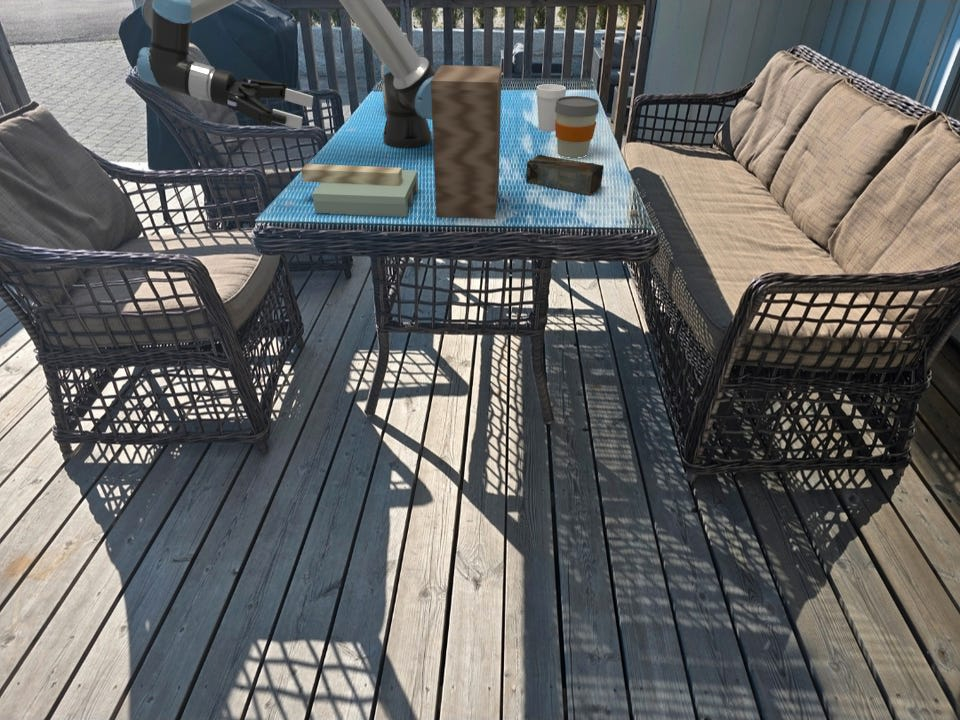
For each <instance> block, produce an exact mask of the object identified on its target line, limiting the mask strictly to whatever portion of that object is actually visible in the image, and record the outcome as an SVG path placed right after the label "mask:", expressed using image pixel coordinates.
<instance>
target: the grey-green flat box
mask: <svg viewBox="0 0 960 720" xmlns="http://www.w3.org/2000/svg"><path fill="white" fill-rule="evenodd" d="M418 173H419V172H418V170H416V169H415V170H414V169H413V170H410V169H402V179H403V180H402V182H401V183H400V185H399V186H395V185H372V184H349V183H326V182H320V183H319V185H318V186H317V187H316V188H315V190H313V192H312V194H311V195H312V201H313V204H314V210H315V214H316V213H330V214H329V215H342V214H346V215H350V216H370V217H371V216H372V217H373V216H375V217H377V216H378V217H395V218H396V217H398V218H401V217H402V218H407V216H408V214H409V206H411V205H413V202H414V194H418V191H419V180H418V177H419V175H418ZM346 215H345V216H346Z"/></svg>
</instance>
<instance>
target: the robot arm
mask: <svg viewBox="0 0 960 720" xmlns="http://www.w3.org/2000/svg"><path fill="white" fill-rule="evenodd" d="M238 1H240V0H144V1H143V3H142V5H141V17H142V18H143V20H144V23H145V24H146V26H147V27H148V28H149V29H150V30H151V39H150V47H147V46H146V47H145V46H143V47H142V48H141V49H139V52H138V58H137V60H136V69H137V74H138V76H139V78H140V80H142V82H144V83H146V84H149V85H152V86H155V87H157V88H159V89H162V90H163V89H164V90H166V91H171V92H175V93H179V94H181V95H186V96H189V97H192V98H197V99H198V100H199V101H203V100H204V101H207V102H213V103H214V104H217V105H220V106H224V107H227V108H228V109H232V110H235V111H237V112H239V113H241V114H243V115H244V116H246V117H248V118H250V119H252V120H254V121H256V122H257V123H259V124H262V125H267V126H271V124H272V122H273V123H276V124H279V125H282V126H286V127H290V128H293V129H297V130H300V131H301V130H302V127H303V116H300V115H298V114H297V115H296V114H293V113H290V112H286V111H283V110H279V109H275V108H273V109H270V108H268V107H267V106H266V105H265V104H264V103H262V102H261V101H260V100H261V99H284V101H285V102H290V103H292V104H296V105H301V106H303V107H306V108H309V109H312V108H313V104H314V95H311V94H306V93H304V92H301V91H296V90H293V89H289V88H288V86H287V85H288V84H287V83H285V82H279V81H278V82H277V81H269V80H261V79H254V78H249V77H245V76H243V77H242V81H237V80H236V77H235V74H234V73H232V72H231V71H228V70H225V69H220V68H217V69H216V68H215V67H214V66H211V65H208V64H204V63H201V62H198V61H194V60H190V59H189V52H190V37H191V28H192V27H191V25H192V24H195V23H196V22H198V21H200V20H202V19H204V18H205V17H208V16H210V15H213V14H214V13H217V12H219V11H220V10H223V9H224V8H227V7H228V6H231V5H232V4H235V3H237V2H238ZM338 1H339V3H340V4H341V6H343V8H344V9H345V11H346V12H347V14H348V15H349V16H350V17H351V20H352V21H353V23H355V25H356V26H357V28H358V29H359V30H360V32H361V33H362V34H363V36H364V38H365V39H366V40H367V42H368V43H369V44H370V45H371V47H372V48H373V50H374V51H375V53H376V54H377V55H378V56H379V59H380V58H381V59H382V61H383V62H384V64H385V65H384V75H383V77H384V84H385V95H386V106H387V116H386V120H385V124H384V129H383V143H384V144H385V145H387V146H390V147H395V148H403V149H406V148H407V149H408V148H419V147H423V146H426V145H428V144H430V143H431V142H433V136H432V131H431V129H430V126H429V122H428V120H430V121H431V120H432V98H431V80H432V78H433V77H434V75H435V74H436V72H437V71H436V70H435V68H434V67H433V66H432V64H431V63H430V61H429V60H428V59H427V58H426V57H422V56H419V54H418V53H417V51H415V49H414V47H413V46H412V44H411V43H410V41H409V39H408V40H407V38H406V37H405V35H404V34H403V33H404V31H402V29H401V28H400V26H399V25H398V23H397V22H396V20H395V19H394V18H393V15H392V14H391V13H390V11H389V9H388V8H387V7H386V5H385V4H384V2H383V1H382V0H338Z"/></svg>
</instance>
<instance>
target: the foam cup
mask: <svg viewBox="0 0 960 720" xmlns="http://www.w3.org/2000/svg"><path fill="white" fill-rule="evenodd" d="M535 92H536V94H535V95H536V101H537V120H538V129H539V130H540V131H542V132H547V131H549V133H550V132H551V131H552V132H555V120H556V112H555V107H556V102H557V99H558V98H561V97H566V93H567V87H566V86H564V85H562V84H557V83H553V84H552V83H546V84H539V85H537V86H536V91H535Z"/></svg>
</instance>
